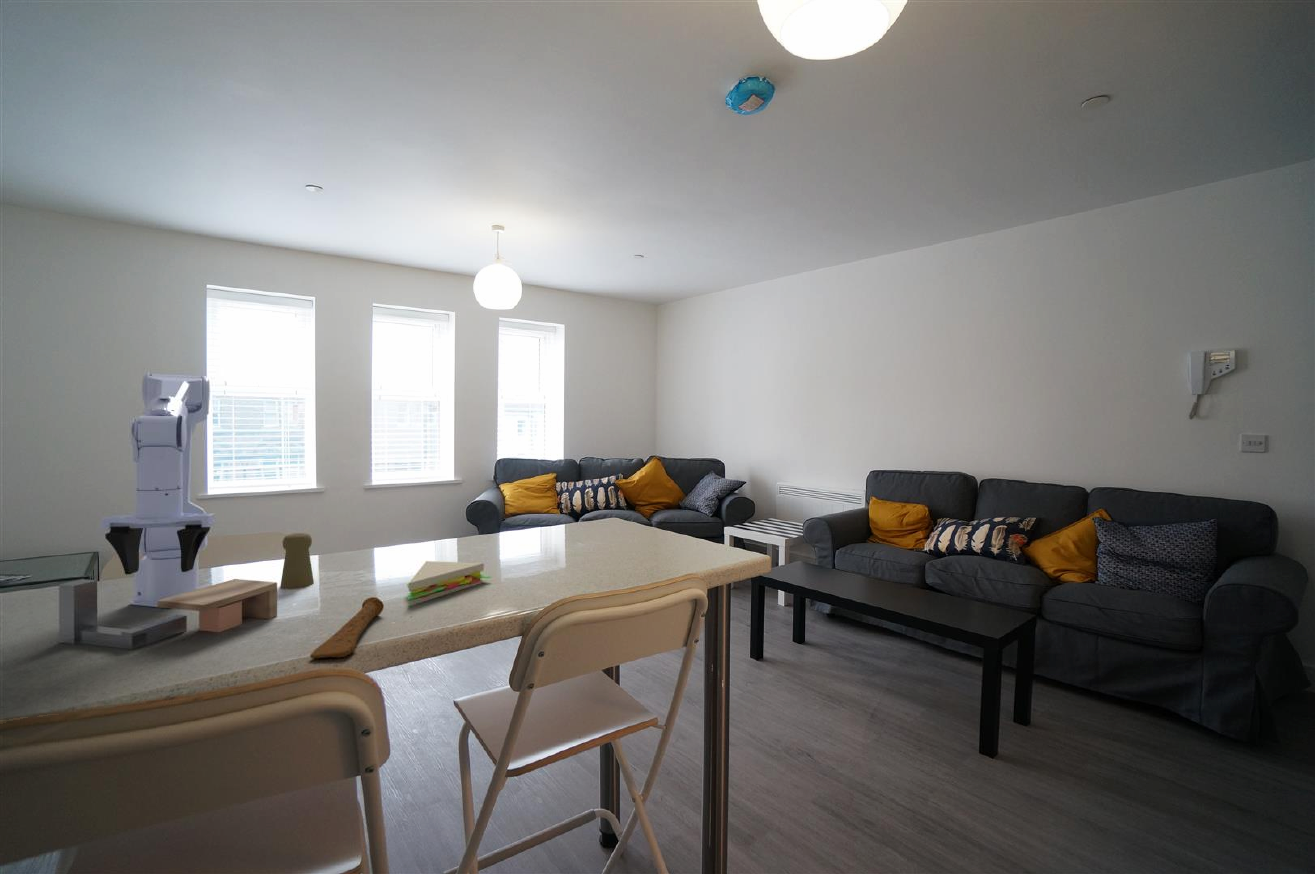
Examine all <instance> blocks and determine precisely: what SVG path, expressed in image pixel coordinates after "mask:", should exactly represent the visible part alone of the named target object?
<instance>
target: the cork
mask: <svg viewBox="0 0 1315 874" xmlns="http://www.w3.org/2000/svg"><path fill="white" fill-rule="evenodd" d="M312 543H313V539H312V536H311V534H309V533H307V532H305V533H304V532H296V533H290V534H286V536H284V537H283V539H282V548H283V550H285V555H284V559H283V560H284V561H283V566H282V573H281V578H280V579H281V581H280V589H283V590H296V589H303V588H307V587H310V586H312V585H315V581H314V576H313V569H312V568H313V567H312V562H311V555H310V547H311V546H312Z"/></svg>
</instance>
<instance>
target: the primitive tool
mask: <svg viewBox="0 0 1315 874" xmlns="http://www.w3.org/2000/svg"><path fill="white" fill-rule="evenodd" d="M384 607H385V605H384V603H383V601H382V600H381V599H380V598H378V597H376V596H375V597H372V596H371V597H369V598H367V599H365V600H364V601H363V602H362V604H361V609H360V610H359V611H358V612H357V613H356V614H355V615H353V617H352V618H350V619H349V620H348V621H347V622H346V623H345V624H344V625H342V627H340V629H339V630H338V631H336V632H335V633H334V634H333V635H331V637H330V638H328V639H327V640H325V641H324V642H323V643H322V644H320V645H319V646H318V647H316V648H315V649H314V650H313V651H312V653H311V654H310V656H309V657H310V659H321V658H322V659H323V658H337V659H339V658H345V657H347V656H349V655H350V654H351V653H353V652H354V650H355V649H356V648H357V642H358V640H359V638H360V636H361V635H362V633H363V632H364V631H365V629H366V628H367V626H368V625H369V623H370V622H371V621H373V618H375V617H378V616H380V614H381V613H383V611H384Z"/></svg>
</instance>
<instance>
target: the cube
mask: <svg viewBox="0 0 1315 874" xmlns="http://www.w3.org/2000/svg"><path fill="white" fill-rule="evenodd" d="M242 619H243V616H242V601H235V602H232V603H229V604H226V605H223V606H220V607H217V608H214V609H210V610H207V611H204V612H203V611H198V630H199V631H203V632H204V631H205V632H213V633H220V632H223V631H226V630H228V629H229V630H230V629H231V628H234V627H237V626H240V625H242V624H243V620H242Z"/></svg>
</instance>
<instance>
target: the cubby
mask: <svg viewBox="0 0 1315 874" xmlns="http://www.w3.org/2000/svg"><path fill="white" fill-rule="evenodd" d="M235 601H242V617H248V618H258V619H265V618H266V619H265V620H271V619H273V618H272V617H274V618H276V617H278V582H276V581H262V580H255V579H254V580H251V579H250V580H249V579H241V578H240V579H239V578H234V579H231V580H230V579H229V580H227V581H223V582H220V583H216V584H213V585H209V586H204V587H201V588H198V589H197V590H194V591H190V592H187V593H183V594H179V595H176V596H172V597H169V598H165V599H161V600H158V601H157V607H156V608H161V607H163V608H162V609H174V610H184V611H185V610H186V611H196V612H199V611H203V612H204V611H207V610H210V609H214V608H217V607H220V606H223V605H226V604H229V603H232V602H235ZM275 616H276V617H275ZM270 618H271V619H270Z"/></svg>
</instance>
